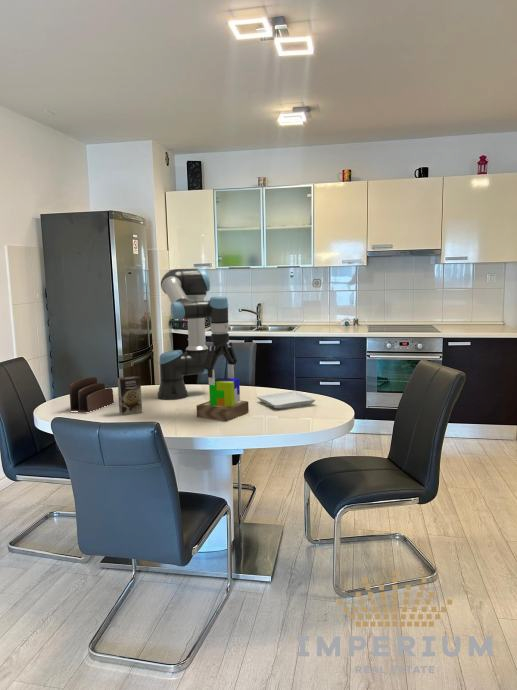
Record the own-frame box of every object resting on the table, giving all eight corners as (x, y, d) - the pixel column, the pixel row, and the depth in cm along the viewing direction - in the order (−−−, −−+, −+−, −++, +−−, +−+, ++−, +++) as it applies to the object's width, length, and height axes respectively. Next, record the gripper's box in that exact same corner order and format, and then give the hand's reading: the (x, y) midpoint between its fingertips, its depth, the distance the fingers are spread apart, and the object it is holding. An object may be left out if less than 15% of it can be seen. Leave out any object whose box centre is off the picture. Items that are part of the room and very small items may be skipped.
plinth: (196, 416, 219) (196, 405, 218) (219, 408, 232) (219, 397, 231) (226, 421, 210) (226, 409, 209) (248, 412, 223) (248, 401, 222)
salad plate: (275, 412, 224) (274, 404, 224) (256, 402, 244) (255, 395, 243) (317, 406, 233) (316, 398, 232) (295, 397, 252) (295, 390, 252)
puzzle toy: (240, 401, 223) (239, 378, 222) (232, 406, 214) (231, 383, 212) (218, 400, 226) (217, 378, 225) (210, 405, 217) (209, 382, 215)
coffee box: (122, 415, 225) (119, 379, 223) (119, 412, 230) (116, 377, 228) (142, 412, 229) (140, 377, 227) (139, 409, 234) (137, 375, 233)
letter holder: (70, 412, 234) (68, 382, 233) (97, 402, 253) (95, 374, 251) (88, 413, 231) (86, 383, 229) (114, 403, 250) (112, 375, 248)
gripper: (208, 336, 204) (210, 388, 207) (243, 330, 225) (245, 377, 228) (194, 335, 208) (196, 386, 211) (230, 329, 229) (231, 376, 232)
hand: (221, 382), depth 219 cm, fingers open, 13 cm apart
